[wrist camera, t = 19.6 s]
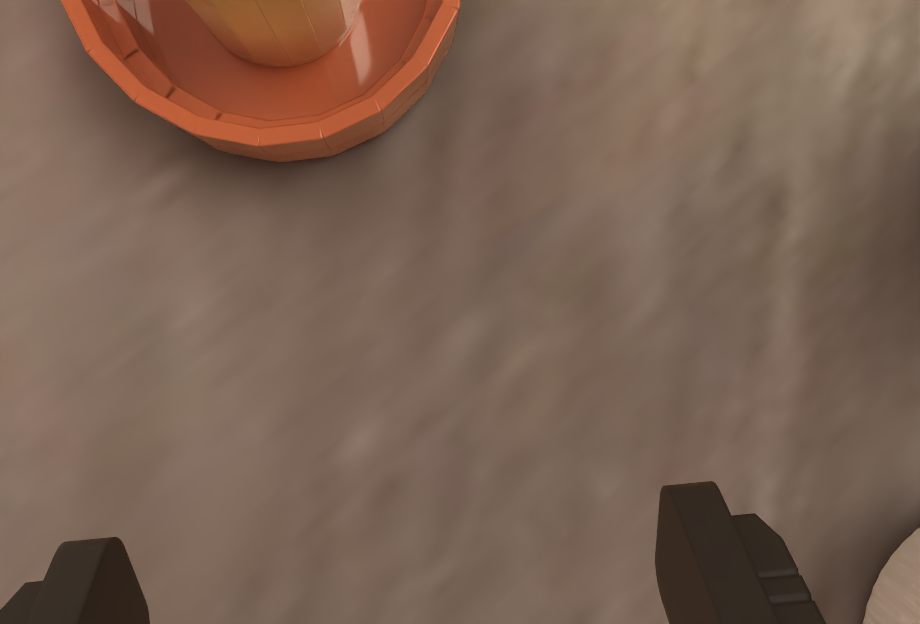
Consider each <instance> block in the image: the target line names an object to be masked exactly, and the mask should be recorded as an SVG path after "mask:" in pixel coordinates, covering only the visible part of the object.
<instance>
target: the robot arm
mask: <svg viewBox="0 0 920 624" xmlns="http://www.w3.org/2000/svg"><path fill="white" fill-rule="evenodd" d="M655 565H656V575H657V582H658V587H659V592H660V596H661V599H662V602H663V605H664V608H665V611H666V614H667V617H668V620H669V623H670V624H826V623H825V621H824V619H823V617H822V615H821V613H820V611H819V609H818V607H817V605H816V603H815V601H812V599H811V593H810V591H809V589H808V588H807V586H806V584H805V582H804V580H803V578H802V576H801V575H800V576H799V573H798V568H797V566H796V564H795V562H794V560H793V558H792V556H791V554H790V552H789V551H788V549H787V547H786V545H785V543H784V541H783V539H782V538H781V537H780V536H779V535H778V534H777V533H776V532H775V531H773V530H772V529H771V528H770V527H769V526H768V525H767V524H766V523H765V522H764V521H762V520H761V519H760V518H759V517H758V516H757V515H756V514H755V513H754V514H744V515H734V516H731V514H730V512H729V509H728V507H727V505H726V503H725V501H724V499H723V496H722V494H721V492H720V490H719V488H718V486H717V485H716V484H715V483H714V482H713V481H709V482H698V483H688V484H678V485H667V486H663V487H662V489H661V492H660V503H659V515H658V527H657V540H656V552H655ZM0 624H150V621H149V611H148V607H147V603H146V600H145V598H144V595H143V593H142V590H141V588H140V585H139V582H138V580H137V577H136V575H135V572H134V570H133V567H132V565H131V562H130V559H129V557H128V554H127V552H126V549H125V547H124V544H123V542H122V541H121V540H120V539H119V538H117V537H110V538H100V539H90V540H79V541H69V542H64V543H62V544H61V545H60V546H59V548H58V549H57V551H56V553H55V555H54V557H53V559H52V562H51V564H50V566H49V569H48V571H47V573H46V576H45V578H44V580H43V581H38V582H28V583H25V584H24V585H23V586H22V587H21V588H20V589H19V590H18V591H17V592H16V594H15V595H14V596H13V597H12V598H11V599H10V600H9V601H8V602H7V603H6V604H5V606H4V607H3V608H2V609H1V610H0Z"/></svg>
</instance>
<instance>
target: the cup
mask: <svg viewBox="0 0 920 624" xmlns="http://www.w3.org/2000/svg"><path fill="white" fill-rule="evenodd" d="M183 1H184V2H185V3H186V4H187V6H188V7H189V8H190V9H191V10H192V11H193V13H194V14H195V15H196V16H197V17H198V19H199V20H200V21H201V22H202V23H203V24H204V25H205V27H206V28H207V29H208V30H209V31H210V32H211V33H212V34H213V35H214V36H215V37H216V38H217V40H218V41H219V42H220V43H222V45H223V46H224V47H225V48H227V49H228V50H230V51H231V52H233V53H234V54H235V55H237V56H239V57H241V58H243V59H245V60H247V61H250V62H252V63H255V64H259V65H263V66H268V67H292V66H299V65H302V64H305V63H309V62H311V61H313V60H316V59H318V58H320V57H321V56H323V55H324V54H326V53H328V52H329V51H330V50H331V49H333V48H334V47H335V46H336V45H337V44H338V43H339V42H340V41H341V40H342V39H343V38H344V36H345V35H346V33H347V32H348V31H349V29H350V27H351V25H352V23H353V22H354V20H355V17H356V14H357V12H358V9H359V4H360V0H183Z"/></svg>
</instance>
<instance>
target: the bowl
mask: <svg viewBox="0 0 920 624" xmlns="http://www.w3.org/2000/svg"><path fill="white" fill-rule="evenodd" d="M61 2H62V4H63V6H64V8H65V10H66V12H67V14H68V16H69V18H70V20H71V22H72V24H73V26H74V28H75V30H76V32H77V34H78V36H79V38H80V40H81V42H82V44H83V46H84V48H85V50H86V52H87V53H88V54H89V56H90V57H91V58H92V59H93V60H94V61H95V62H96V63H97V64H98V65H99V66H100V67H101V68H102V69H103V70H104V71H105V72H106V73H107V74H108V75H109V76H110V77H111V78H112V79H113V81H114V82H115V83H116V84H117V85H118V86H119V87H120V88H121V89H122V90H123V91H124V92H125V93H126V94H127V95H128V96H129V97H130V98H131V99H132V100H133V101H134V102H136V103H137V104H138V105H140V106H142V107H143V108H145V109H147V110H149V111H150V112H152V113H154V114H155V115H157V116H159V117H160V118H162V119H164V120H165V121H167V122H169V123H171V124H172V125H174V126H176V127H178V128H180V129H181V130H183V131H185V132H187V133H189V134H191V135H192V136H194V137H196V138H198V139H200V140H202V141H203V142H205V143H207V144H209V145H211V146H213V147H215V148H216V149H218V150H220V151H224V152H227V153H232V154H237V155H242V156H248V157H253V158H258V159H263V160H268V161H274V162H278V161H279V162H286V161H294V160H302V159H310V158H318V157H326V156H333V155H334V154H339V153H341V152H343V151H345V150H347V149H349V148H351V147H353V146H356V145H358V144H360V143H362V142H364V141H366V140H368V139H370V138H373V137H375V136H377V135H379V134H381V133H383V132H384V130H385V131H386V130H387V129H388V128H389V127H391V126H392V125H393V124H394V123H395V122H396V121H397V120H398V119H399V118H400V117H401V116H402V115H403V114H404V113H405V112H406V111H407V110H408V109H409V108H411V107H412V106H413V105H414V104H415V103H416V102H417V101H418V100H419V99H420V98H421V97H422V96H423V95H424V94H425V92H426V91H427V90H428V88H429V86H430V84H431V82H432V80H433V78H434V77H435V75H436V73H437V71H438V69H439V67H440V65H441V63H442V62H443V60H444V58H445V56H446V54H447V52H448V50H449V49H450V47H451V44H452V41H453V37H454V32H455V28H456V23H457V18H458V14H459V9H460V4H461V0H360V4H359V9H358V12H357V14H356V17H355V20H354V22H353V23H352V25H351V27H350V29H349V31H348V32H347V33H346V35H345V36H344V38H343V39H342V40H341V41H340V42H339V43H338V44H337V45H336V46H335V47H334V48H333V49H331V50H330V51H329V52H328V53H326V54H324V55H323V56H321V57H320V58H318V59H316V60H313V61H311V62H309V63H305V64H302V65H299V66H292V67H268V66H263V65H259V64H255V63H252V62H250V61H247V60H245V59H243V58H241V57H239V56H237V55H235V54H234V53H233V52H231V51H230V50H228V49H227V48H225V47H224V46H223V45H222V43H220V42H219V41H218V40H217V38H216V37H215V36H214V35H213V34H212V33H211V32H210V31H209V30H208V29H207V28H206V27H205V25H204V24H203V23H202V22H201V21H200V20H199V19H198V17H197V16H196V15H195V14H194V13H193V11H192V10H191V9H190V8H189V7H188V6H187V4H186V3H185V2H184V1H183V0H61Z"/></svg>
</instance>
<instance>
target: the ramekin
mask: <svg viewBox="0 0 920 624" xmlns="http://www.w3.org/2000/svg"><path fill="white" fill-rule="evenodd" d="M863 624H920V528H918V529H917V530H915V531H914V532H913V533H912V534H911V535H910V536H909V537H908V538H907V539H906V540H905V541H904V542H903V543H902V544H901V545H900V546H899V548H898V549H897V550H896V551H895V552H894V553H893V554H892V555H891V557H890V558H889V560H888V562H887V563H886V565H885V566H884V568H883V569H882V570H881V572H880V574H879V577H878V579H877V581H876V583H875V584H874V586H873V589H872V593H871V596H870V599H869V601H868V603H867V606H866V613H865V617H864V621H863Z"/></svg>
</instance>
